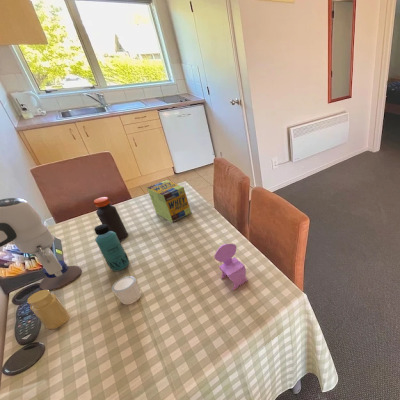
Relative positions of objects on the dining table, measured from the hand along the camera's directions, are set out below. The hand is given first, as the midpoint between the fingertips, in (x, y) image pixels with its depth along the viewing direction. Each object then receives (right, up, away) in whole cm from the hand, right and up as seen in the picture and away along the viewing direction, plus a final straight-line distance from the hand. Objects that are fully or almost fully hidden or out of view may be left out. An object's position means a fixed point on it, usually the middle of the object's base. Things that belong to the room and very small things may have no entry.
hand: (56, 270), depth 98 cm
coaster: (0, -4, +2) cm, 4 cm away
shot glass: (+32, -8, -6) cm, 33 cm away
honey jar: (+14, -13, -13) cm, 23 cm away
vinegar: (+6, +9, +23) cm, 25 cm away
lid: (0, -1, 0) cm, 1 cm away
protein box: (+21, +19, +40) cm, 49 cm away
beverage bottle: (+19, -1, +7) cm, 20 cm away
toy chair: (+65, -4, +1) cm, 66 cm away
